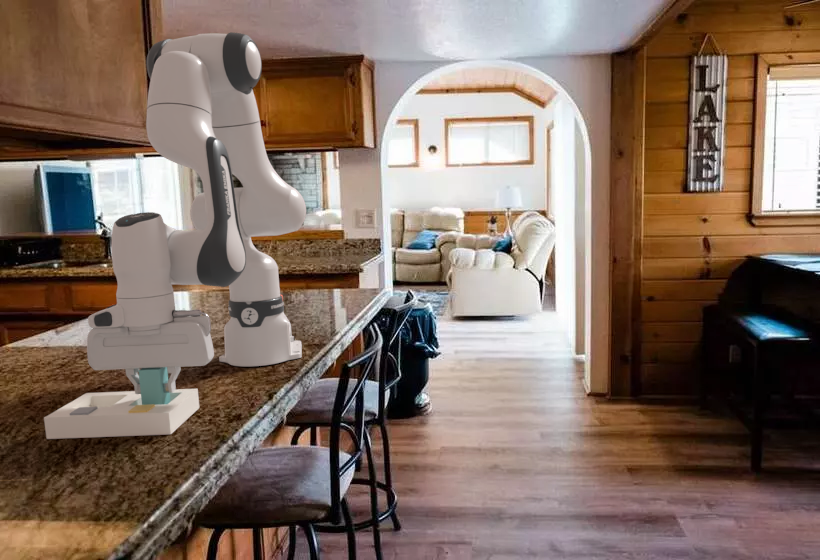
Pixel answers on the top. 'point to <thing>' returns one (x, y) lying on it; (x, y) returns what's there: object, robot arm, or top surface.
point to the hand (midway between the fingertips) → (155, 392)
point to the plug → (153, 386)
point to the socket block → (120, 415)
